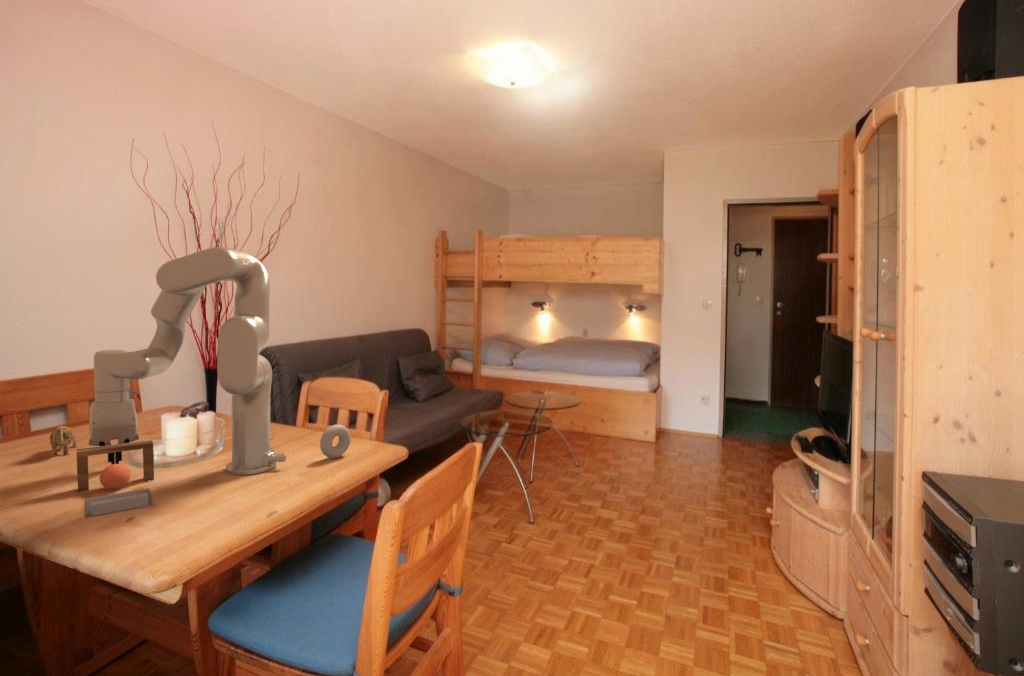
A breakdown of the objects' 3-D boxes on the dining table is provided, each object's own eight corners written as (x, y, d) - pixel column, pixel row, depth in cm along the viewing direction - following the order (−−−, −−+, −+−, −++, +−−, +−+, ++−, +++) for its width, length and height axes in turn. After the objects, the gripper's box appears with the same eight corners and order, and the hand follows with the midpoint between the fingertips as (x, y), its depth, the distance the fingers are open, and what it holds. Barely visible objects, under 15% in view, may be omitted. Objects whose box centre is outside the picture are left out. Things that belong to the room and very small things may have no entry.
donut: (324, 462, 152) (324, 428, 151) (317, 460, 154) (317, 426, 153) (352, 454, 160) (353, 422, 159) (345, 452, 162) (345, 420, 161)
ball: (136, 483, 131) (133, 459, 132) (124, 488, 126) (121, 463, 126) (109, 488, 130) (106, 464, 130) (95, 494, 124) (92, 468, 124)
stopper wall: (91, 513, 114) (91, 502, 114) (147, 503, 120) (147, 492, 120) (91, 516, 112) (91, 505, 112) (148, 506, 119) (148, 495, 118)
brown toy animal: (73, 457, 150) (72, 426, 149) (49, 460, 147) (47, 429, 146) (78, 444, 162) (77, 416, 161) (55, 447, 158) (54, 418, 158)
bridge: (78, 488, 127) (76, 449, 127) (152, 476, 137) (152, 440, 136) (78, 492, 125) (76, 452, 124) (154, 479, 134) (153, 442, 134)
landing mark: (85, 499, 121) (85, 498, 121) (149, 489, 129) (149, 488, 128) (85, 517, 112) (85, 517, 112) (153, 505, 119) (153, 504, 119)
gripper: (146, 391, 147) (147, 455, 149) (76, 396, 138) (79, 465, 139) (148, 396, 141) (150, 463, 143) (76, 402, 132) (78, 473, 133)
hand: (115, 464), depth 141 cm, fingers closed
